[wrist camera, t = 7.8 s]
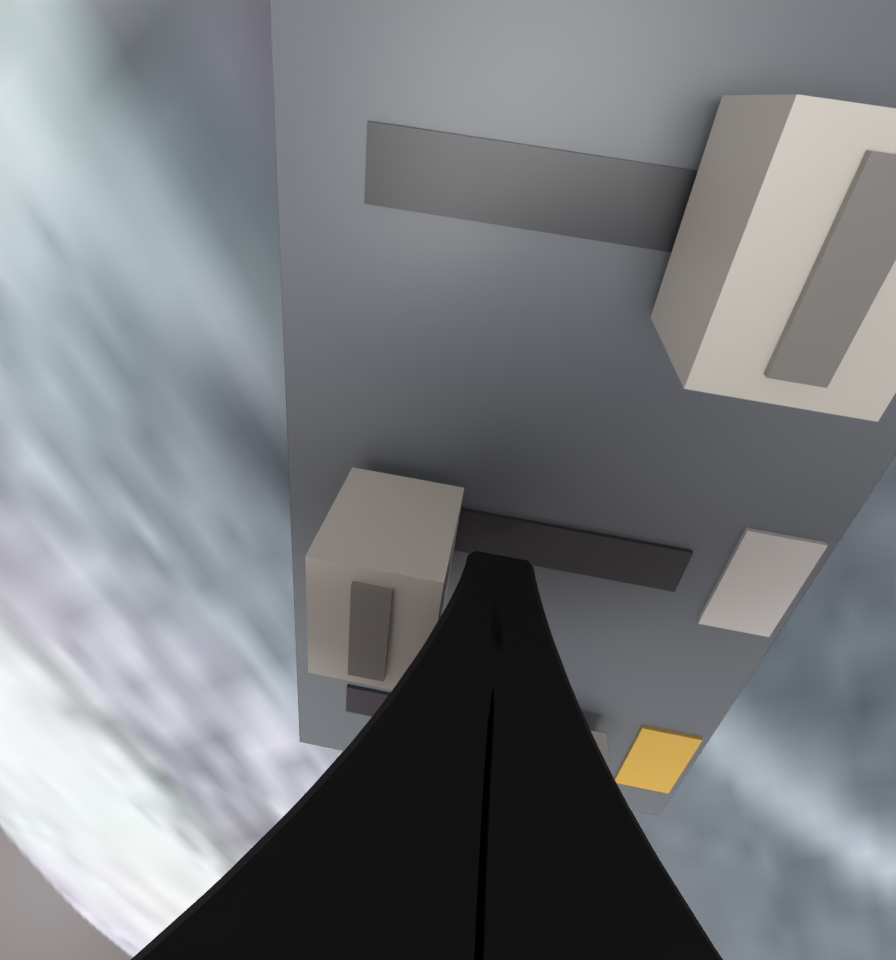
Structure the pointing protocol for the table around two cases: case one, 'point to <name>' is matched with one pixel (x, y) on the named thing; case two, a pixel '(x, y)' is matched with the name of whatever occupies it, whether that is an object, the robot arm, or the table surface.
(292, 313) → the switch panel
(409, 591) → the switch
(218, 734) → the table surface
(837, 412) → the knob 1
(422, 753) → the robot arm
